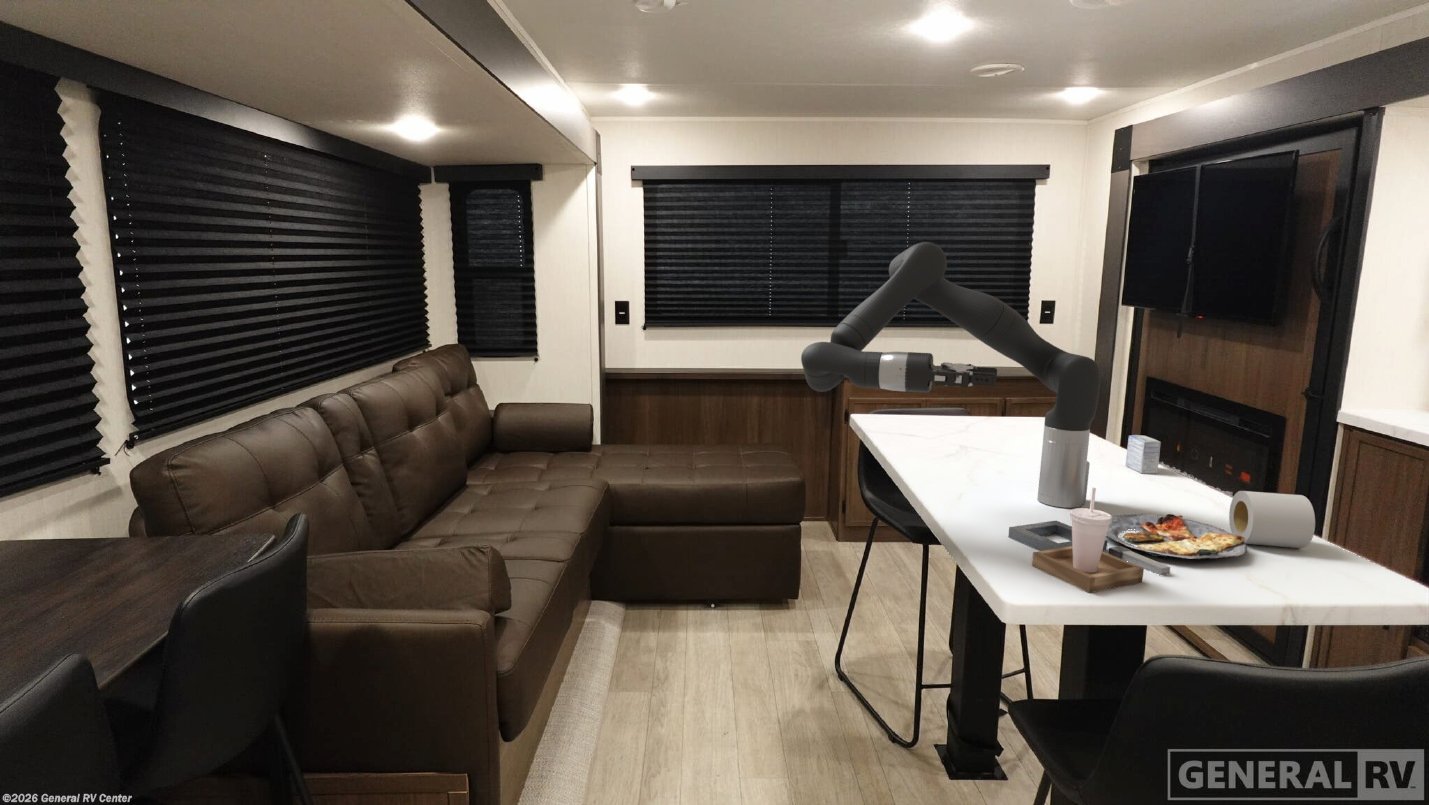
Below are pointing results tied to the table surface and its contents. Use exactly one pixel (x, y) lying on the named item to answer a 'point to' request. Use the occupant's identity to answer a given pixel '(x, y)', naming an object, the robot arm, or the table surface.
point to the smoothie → (1088, 536)
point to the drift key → (1139, 560)
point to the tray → (1106, 576)
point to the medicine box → (1143, 454)
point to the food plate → (1175, 536)
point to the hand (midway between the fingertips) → (996, 376)
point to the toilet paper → (1272, 519)
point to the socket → (1034, 533)
